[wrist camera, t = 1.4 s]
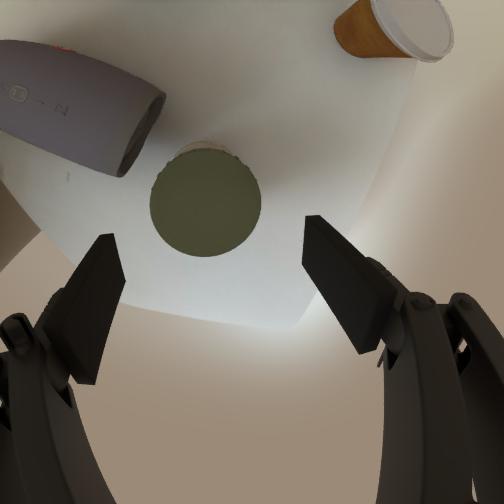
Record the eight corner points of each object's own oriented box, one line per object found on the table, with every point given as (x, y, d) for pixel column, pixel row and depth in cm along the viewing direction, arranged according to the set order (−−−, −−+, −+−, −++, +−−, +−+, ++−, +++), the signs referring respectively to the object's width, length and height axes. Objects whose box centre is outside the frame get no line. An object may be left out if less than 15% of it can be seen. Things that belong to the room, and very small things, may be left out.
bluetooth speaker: (175, 92, 23) (162, 77, 14) (133, 171, 26) (103, 197, 17) (26, 41, 14) (-22, 29, 6) (-4, 110, 17) (-55, 119, 8)
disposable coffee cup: (381, 82, 25) (453, 80, 15) (313, 50, 23) (375, 23, 12) (391, 26, 21) (457, 11, 11) (328, -8, 19) (384, -45, 8)
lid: (160, 251, 21) (158, 262, 20) (147, 153, 18) (142, 156, 16) (256, 241, 23) (261, 252, 21) (256, 144, 19) (262, 146, 17)
